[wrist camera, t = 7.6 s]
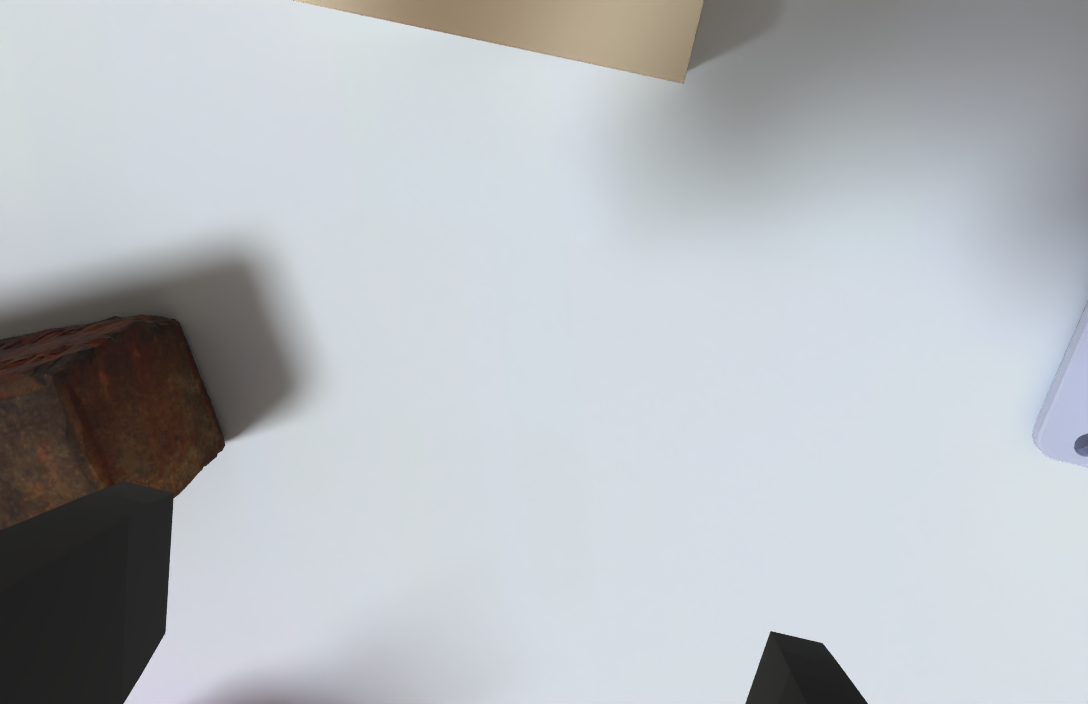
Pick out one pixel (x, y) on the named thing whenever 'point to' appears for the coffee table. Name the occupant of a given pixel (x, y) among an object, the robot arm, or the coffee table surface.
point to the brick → (100, 413)
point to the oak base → (559, 27)
